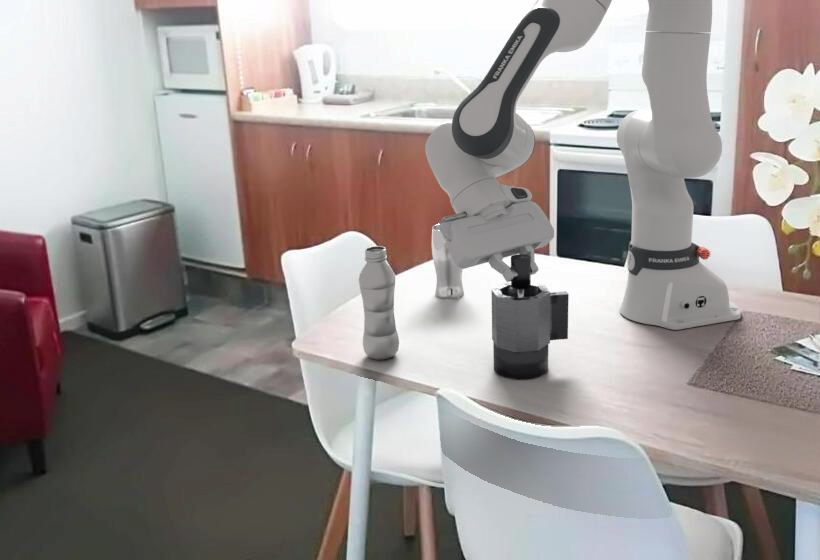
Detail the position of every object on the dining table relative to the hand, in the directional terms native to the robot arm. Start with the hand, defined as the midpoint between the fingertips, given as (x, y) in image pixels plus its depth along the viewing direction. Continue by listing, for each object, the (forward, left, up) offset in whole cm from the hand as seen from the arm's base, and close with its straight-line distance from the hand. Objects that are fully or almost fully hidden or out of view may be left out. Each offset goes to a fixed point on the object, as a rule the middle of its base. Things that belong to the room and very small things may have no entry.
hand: (523, 276), depth 140 cm
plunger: (0, -1, -11) cm, 11 cm away
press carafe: (-1, -1, -17) cm, 17 cm away
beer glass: (+6, -41, -17) cm, 44 cm away
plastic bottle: (+23, -11, -17) cm, 31 cm away
